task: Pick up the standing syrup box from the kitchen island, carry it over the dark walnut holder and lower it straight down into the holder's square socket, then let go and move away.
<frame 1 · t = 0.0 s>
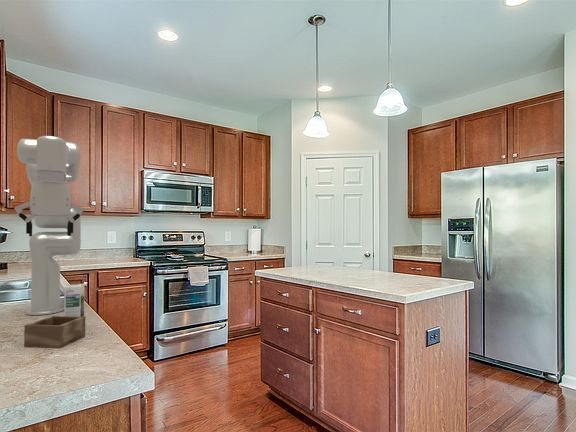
hand: (50, 235, 110), 31 cm above the countertop, tool pointing down, fingers open, 9 cm apart
syrup box: (74, 328, 123), on the countertop
walnut holder: (56, 341, 109), on the countertop
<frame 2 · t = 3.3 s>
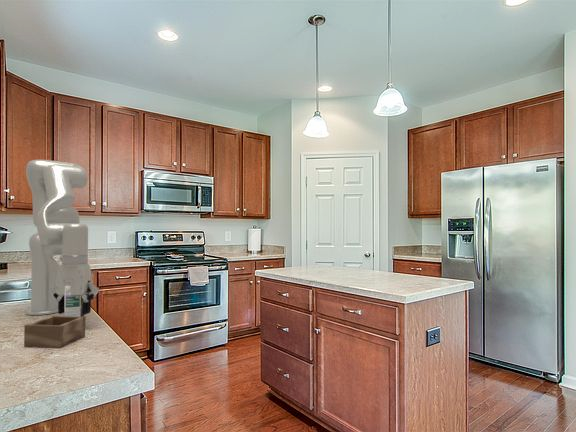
hand: (74, 313, 123), 5 cm above the countertop, tool pointing down, fingers closed on syrup box, 7 cm apart
syrup box: (74, 328, 123), on the countertop, touching gripper
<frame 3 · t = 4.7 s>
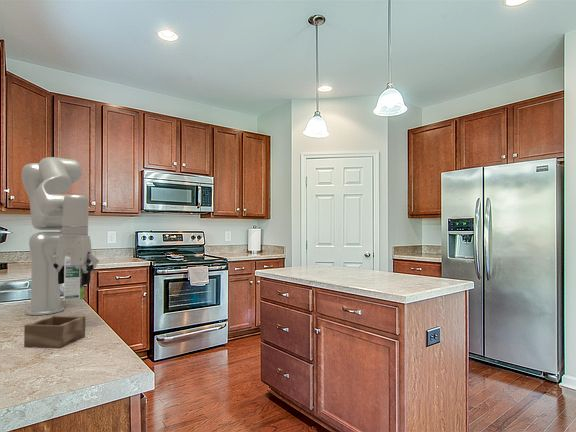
hand: (74, 283, 124), 15 cm above the countertop, tool pointing down, fingers closed on syrup box, 7 cm apart
syrup box: (73, 299, 124), point 9 cm above the countertop, touching gripper
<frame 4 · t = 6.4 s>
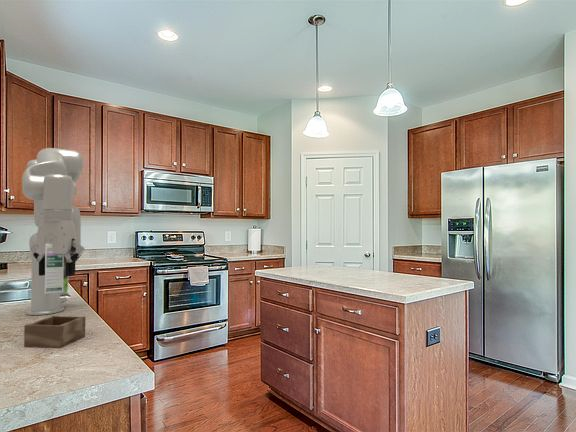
hand: (56, 275, 110), 20 cm above the countertop, tool pointing down, fingers closed on syrup box, 7 cm apart
syrup box: (56, 292, 110), point 14 cm above the countertop, touching gripper
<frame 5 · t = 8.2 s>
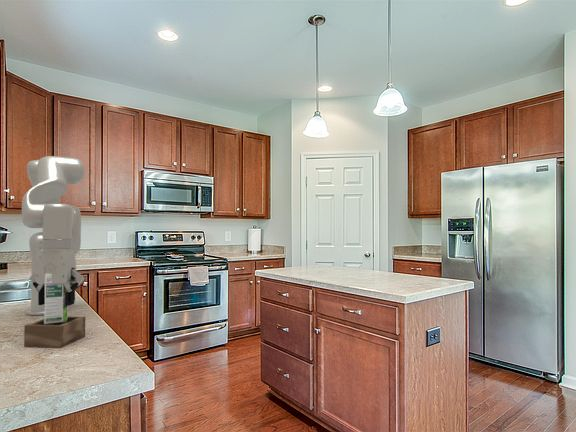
hand: (56, 304, 110), 11 cm above the countertop, tool pointing down, fingers closed on syrup box, 7 cm apart
syrup box: (56, 321, 109), point 6 cm above the countertop, touching gripper
when the fingers open (8 cm above the countertop, at t = 9.7 s): syrup box drops 2 cm, resting on walnut holder.
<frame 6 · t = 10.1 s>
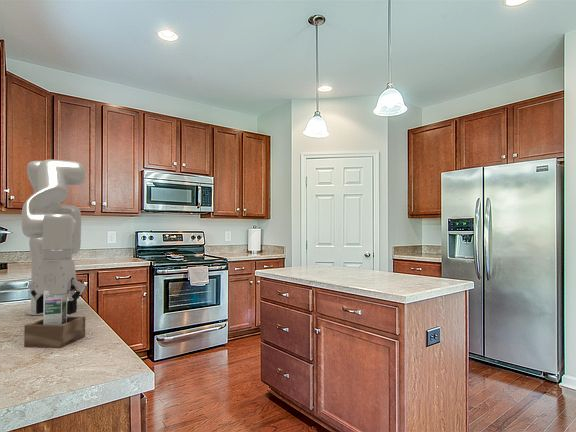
hand: (56, 313, 110), 8 cm above the countertop, tool pointing down, fingers open, 9 cm apart
syrup box: (55, 338, 110), point 1 cm above the countertop, touching walnut holder
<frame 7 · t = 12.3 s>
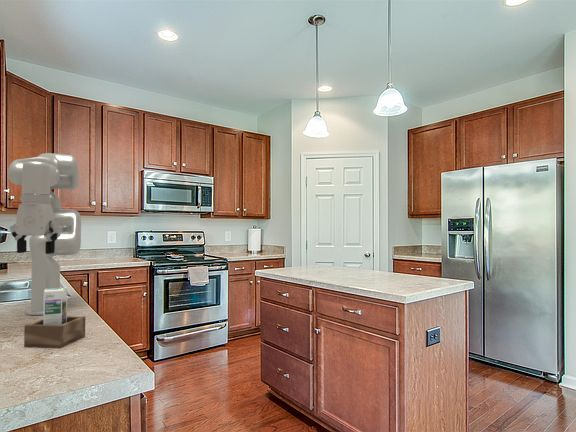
hand: (35, 253, 120), 25 cm above the countertop, tool pointing down, fingers open, 9 cm apart
nothing on the countertop moved.
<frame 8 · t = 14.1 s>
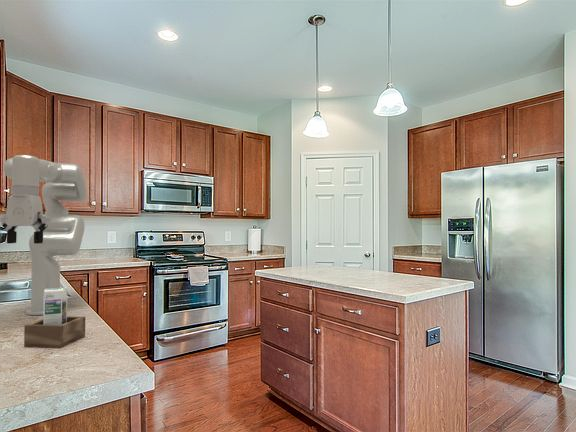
hand: (24, 243, 124), 28 cm above the countertop, tool pointing down, fingers open, 9 cm apart
nothing on the countertop moved.
at the end: syrup box 0.5 cm off-centre on the walnut holder, point 0.8 cm above the walnut holder's base; syrup box tilted 0°; the gripper is holding nothing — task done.
